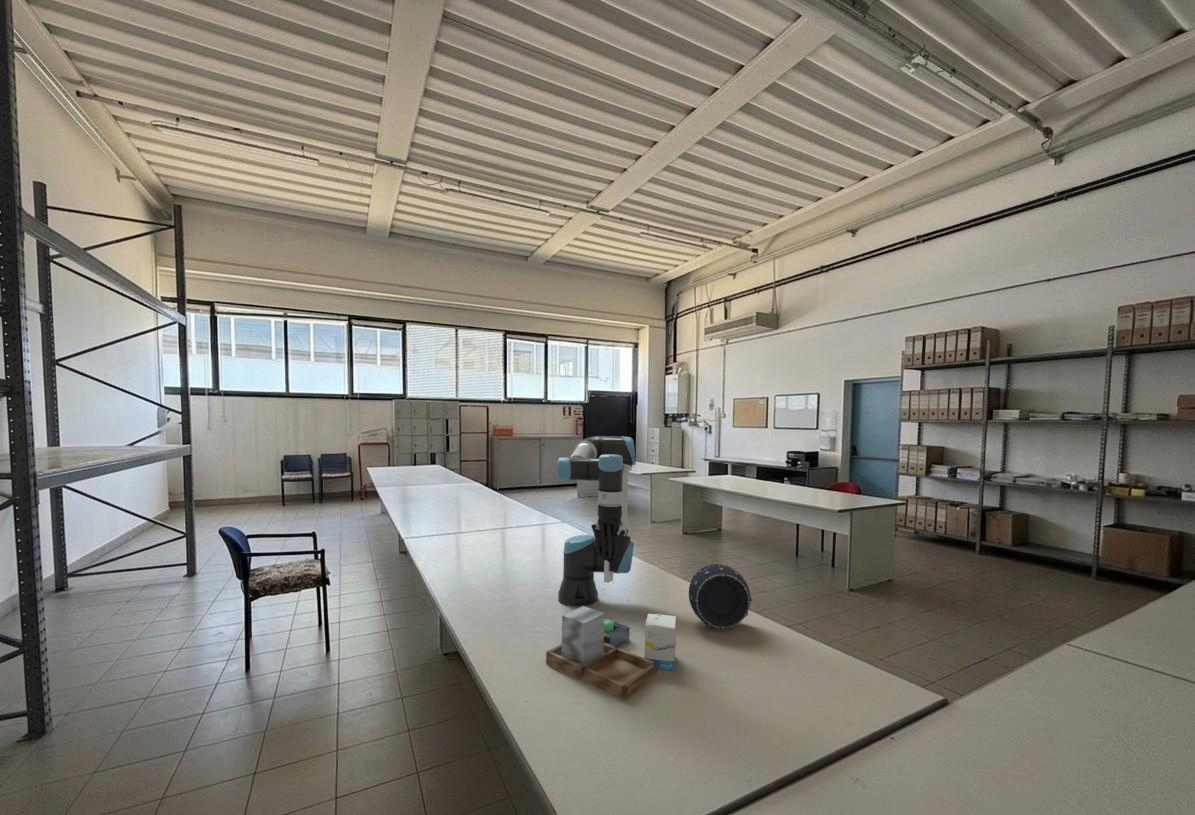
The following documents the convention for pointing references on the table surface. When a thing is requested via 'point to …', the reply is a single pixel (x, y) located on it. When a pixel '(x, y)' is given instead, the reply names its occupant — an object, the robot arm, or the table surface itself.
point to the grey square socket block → (617, 635)
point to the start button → (608, 625)
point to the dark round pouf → (719, 596)
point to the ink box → (660, 640)
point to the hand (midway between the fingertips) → (608, 581)
